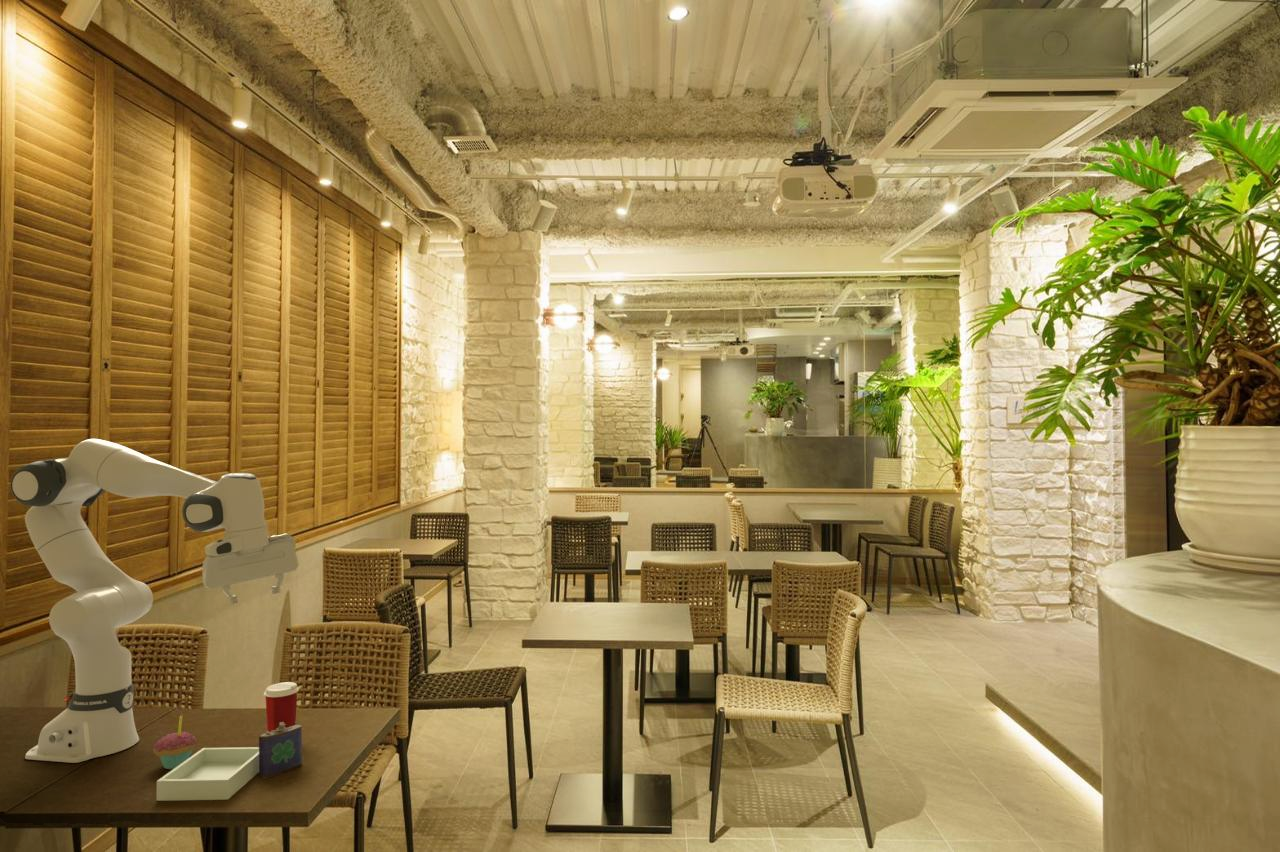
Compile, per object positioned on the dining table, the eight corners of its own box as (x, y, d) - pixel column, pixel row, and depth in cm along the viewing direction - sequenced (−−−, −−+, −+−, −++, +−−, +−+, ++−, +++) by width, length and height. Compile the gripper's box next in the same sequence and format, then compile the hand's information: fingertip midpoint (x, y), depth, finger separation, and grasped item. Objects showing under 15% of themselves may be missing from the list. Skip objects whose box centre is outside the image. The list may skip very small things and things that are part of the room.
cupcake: (205, 759, 173) (205, 707, 174) (172, 775, 165) (172, 720, 166) (178, 755, 176) (178, 704, 176) (143, 770, 168) (144, 716, 168)
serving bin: (156, 800, 153) (156, 781, 154) (203, 765, 170) (203, 748, 170) (227, 799, 154) (227, 779, 154) (267, 764, 170) (267, 746, 170)
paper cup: (305, 738, 185) (305, 681, 186) (287, 751, 178) (287, 691, 178) (275, 737, 186) (275, 681, 186) (256, 750, 178) (256, 691, 179)
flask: (299, 762, 171) (299, 715, 172) (305, 766, 169) (304, 718, 170) (257, 776, 165) (256, 727, 165) (262, 780, 163) (262, 730, 163)
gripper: (289, 531, 186) (296, 586, 186) (196, 548, 172) (204, 607, 173) (298, 532, 181) (305, 588, 182) (203, 550, 168) (210, 611, 168)
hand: (255, 598), depth 177 cm, fingers open, 8 cm apart
